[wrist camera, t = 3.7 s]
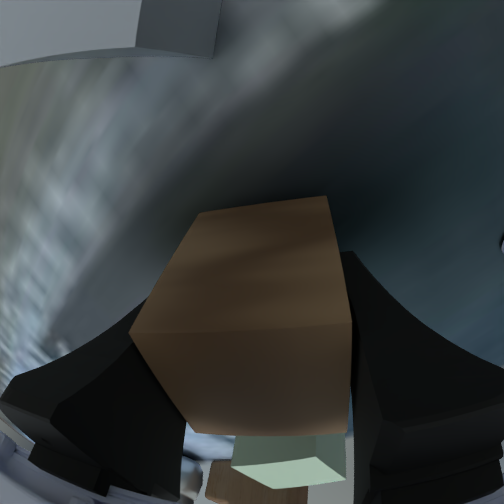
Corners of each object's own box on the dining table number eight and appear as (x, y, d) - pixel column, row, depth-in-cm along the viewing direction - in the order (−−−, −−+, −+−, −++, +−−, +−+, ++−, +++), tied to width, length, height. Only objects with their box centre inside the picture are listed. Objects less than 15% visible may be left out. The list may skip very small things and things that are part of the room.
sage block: (315, 357, 16) (315, 456, 11) (342, 395, 18) (346, 479, 13) (245, 377, 18) (230, 466, 13) (280, 410, 20) (273, 488, 15)
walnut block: (326, 195, 10) (351, 322, 5) (335, 299, 13) (346, 432, 8) (199, 212, 11) (128, 332, 6) (228, 308, 14) (195, 432, 8)
